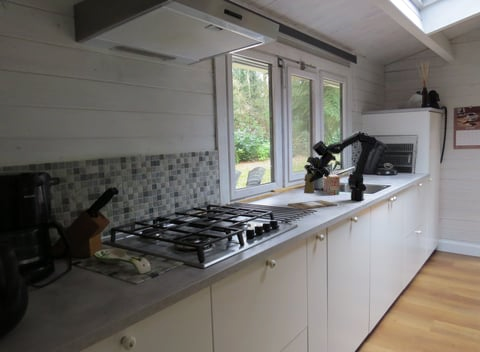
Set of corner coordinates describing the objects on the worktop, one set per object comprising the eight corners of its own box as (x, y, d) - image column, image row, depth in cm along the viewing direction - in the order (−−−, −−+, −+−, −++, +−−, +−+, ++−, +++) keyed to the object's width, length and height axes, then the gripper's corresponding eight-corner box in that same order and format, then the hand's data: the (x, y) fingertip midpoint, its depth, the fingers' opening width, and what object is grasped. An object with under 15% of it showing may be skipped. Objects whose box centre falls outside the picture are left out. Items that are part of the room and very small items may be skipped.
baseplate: (321, 201, 220) (321, 199, 220) (337, 205, 208) (337, 203, 208) (287, 205, 209) (287, 203, 209) (302, 209, 197) (302, 207, 197)
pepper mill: (304, 193, 209) (304, 174, 207) (303, 191, 215) (303, 173, 213) (315, 193, 208) (315, 174, 207) (313, 191, 214) (314, 173, 213)
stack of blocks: (323, 189, 265) (323, 172, 264) (331, 189, 265) (332, 172, 263) (329, 194, 244) (330, 176, 242) (339, 194, 244) (339, 176, 242)
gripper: (306, 150, 218) (290, 170, 216) (325, 152, 201) (307, 173, 199) (318, 163, 222) (302, 182, 220) (336, 166, 205) (319, 187, 202)
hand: (307, 181), depth 210 cm, fingers closed on pepper mill, 5 cm apart
